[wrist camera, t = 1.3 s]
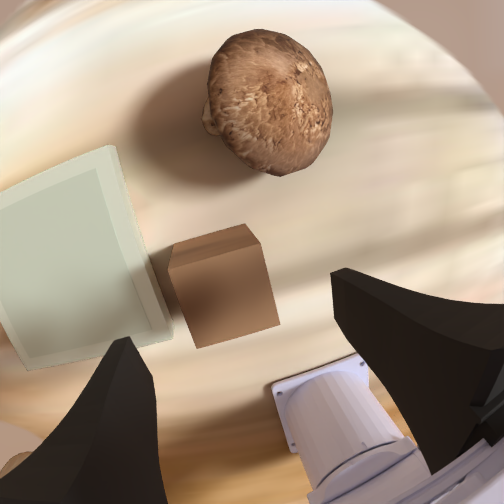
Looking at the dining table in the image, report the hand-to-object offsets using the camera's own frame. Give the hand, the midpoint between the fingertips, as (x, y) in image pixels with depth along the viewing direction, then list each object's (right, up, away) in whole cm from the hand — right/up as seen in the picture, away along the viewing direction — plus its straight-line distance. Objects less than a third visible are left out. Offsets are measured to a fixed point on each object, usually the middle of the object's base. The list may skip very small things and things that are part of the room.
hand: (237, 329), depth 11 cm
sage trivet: (-12, +2, +8) cm, 14 cm away
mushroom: (+1, +11, +8) cm, 14 cm away
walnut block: (-2, +2, +10) cm, 10 cm away
